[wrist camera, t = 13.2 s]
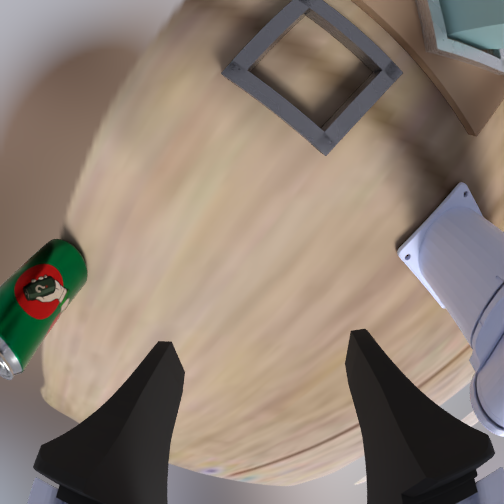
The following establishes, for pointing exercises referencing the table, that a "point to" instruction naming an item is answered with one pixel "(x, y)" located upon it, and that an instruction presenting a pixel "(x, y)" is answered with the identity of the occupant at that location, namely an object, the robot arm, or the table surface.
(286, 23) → the stand socket
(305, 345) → the table surface
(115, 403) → the robot arm
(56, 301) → the soda can
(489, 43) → the teal peg
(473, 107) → the socket board
